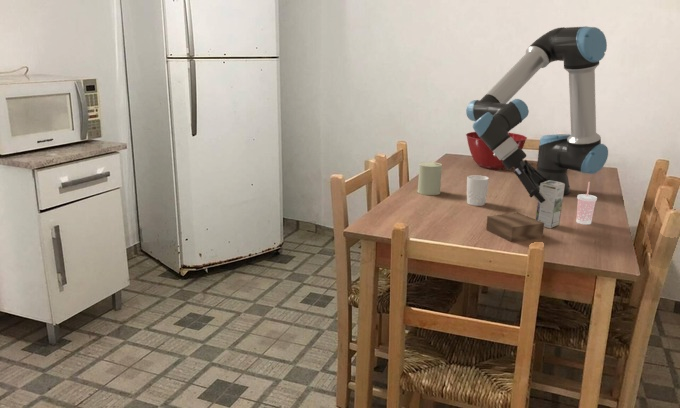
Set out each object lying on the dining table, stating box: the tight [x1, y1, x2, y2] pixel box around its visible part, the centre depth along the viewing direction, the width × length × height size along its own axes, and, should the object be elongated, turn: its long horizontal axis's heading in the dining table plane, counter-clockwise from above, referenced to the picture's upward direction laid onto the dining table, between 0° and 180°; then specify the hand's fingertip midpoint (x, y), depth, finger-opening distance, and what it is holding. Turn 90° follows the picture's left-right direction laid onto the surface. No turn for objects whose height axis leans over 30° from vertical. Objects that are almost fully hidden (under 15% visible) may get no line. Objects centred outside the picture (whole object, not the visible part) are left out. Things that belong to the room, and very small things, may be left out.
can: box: [417, 161, 443, 196], centre depth 221 cm, size 9×9×12 cm
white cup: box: [466, 174, 490, 207], centre depth 206 cm, size 8×8×10 cm
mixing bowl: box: [465, 131, 528, 170], centre depth 271 cm, size 28×28×16 cm
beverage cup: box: [575, 181, 598, 225], centre depth 184 cm, size 6×6×14 cm
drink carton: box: [535, 180, 565, 229], centre depth 180 cm, size 6×6×14 cm
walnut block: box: [485, 212, 545, 243], centre depth 173 cm, size 12×12×5 cm
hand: (553, 204), depth 180 cm, fingers open, 13 cm apart
